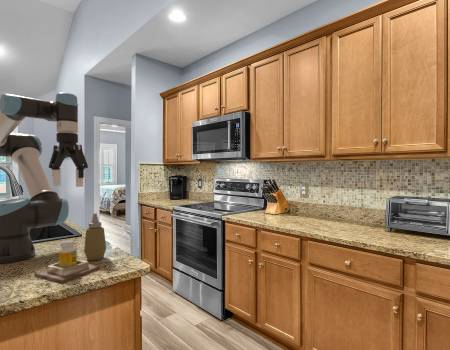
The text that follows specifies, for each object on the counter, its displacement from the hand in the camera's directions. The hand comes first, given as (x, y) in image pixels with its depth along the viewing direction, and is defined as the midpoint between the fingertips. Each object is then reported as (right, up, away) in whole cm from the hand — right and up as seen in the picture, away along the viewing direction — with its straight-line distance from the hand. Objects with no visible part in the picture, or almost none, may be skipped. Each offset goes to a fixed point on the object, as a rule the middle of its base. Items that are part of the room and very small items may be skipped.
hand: (68, 186), depth 112 cm
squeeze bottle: (+11, -29, -1) cm, 31 cm away
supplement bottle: (+9, -28, -15) cm, 33 cm away
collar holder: (+9, -29, -16) cm, 34 cm away
